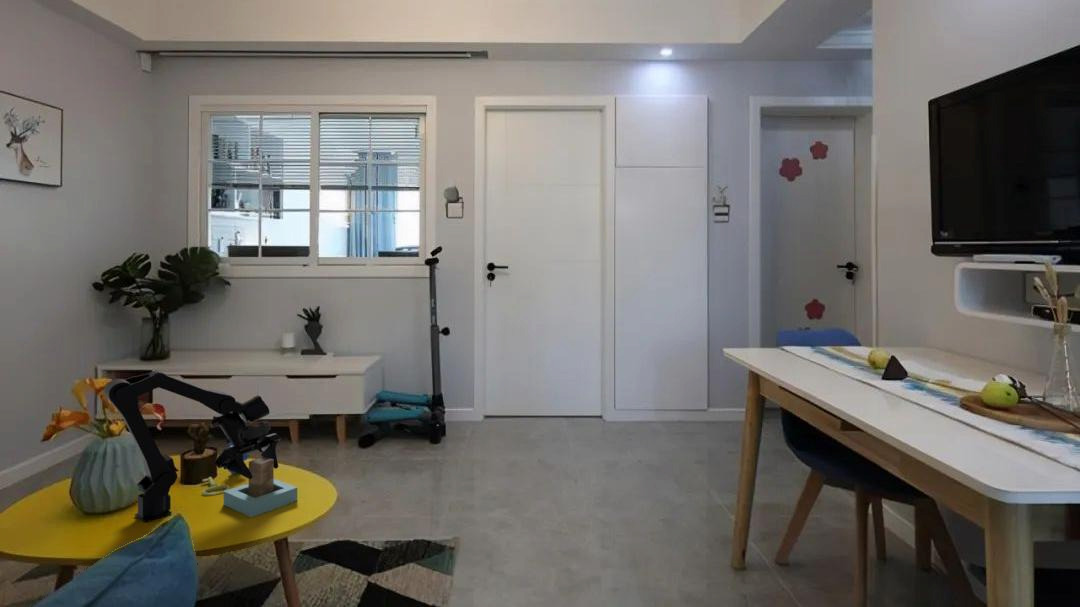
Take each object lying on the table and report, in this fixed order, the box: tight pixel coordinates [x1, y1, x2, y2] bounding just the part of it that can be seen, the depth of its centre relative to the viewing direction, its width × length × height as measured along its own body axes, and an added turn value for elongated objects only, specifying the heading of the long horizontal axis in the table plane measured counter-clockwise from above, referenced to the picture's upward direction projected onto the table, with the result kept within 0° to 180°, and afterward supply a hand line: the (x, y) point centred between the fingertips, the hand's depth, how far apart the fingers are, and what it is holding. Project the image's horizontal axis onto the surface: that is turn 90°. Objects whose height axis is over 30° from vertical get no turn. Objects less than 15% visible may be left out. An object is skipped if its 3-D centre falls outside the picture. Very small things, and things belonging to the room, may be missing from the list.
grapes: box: [226, 443, 250, 475], centre depth 182 cm, size 12×7×12 cm, turn 11°
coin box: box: [223, 478, 298, 518], centre depth 161 cm, size 14×14×4 cm
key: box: [201, 476, 231, 497], centre depth 169 cm, size 7×12×2 cm, turn 60°
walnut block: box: [248, 456, 275, 498], centre depth 160 cm, size 5×5×12 cm
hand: (264, 473), depth 160 cm, fingers open, 9 cm apart
